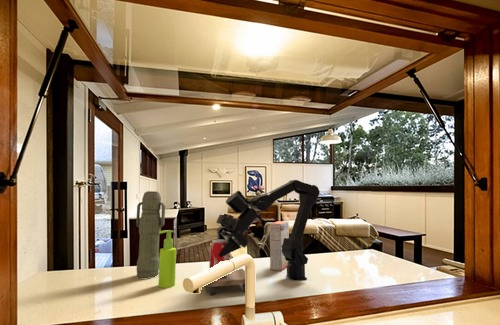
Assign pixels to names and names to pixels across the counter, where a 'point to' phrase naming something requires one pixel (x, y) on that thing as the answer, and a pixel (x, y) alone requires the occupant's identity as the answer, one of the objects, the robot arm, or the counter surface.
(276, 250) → the cracker box
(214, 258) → the soda can
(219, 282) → the tan square tray
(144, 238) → the thermos
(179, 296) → the counter surface
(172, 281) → the soap dispenser
